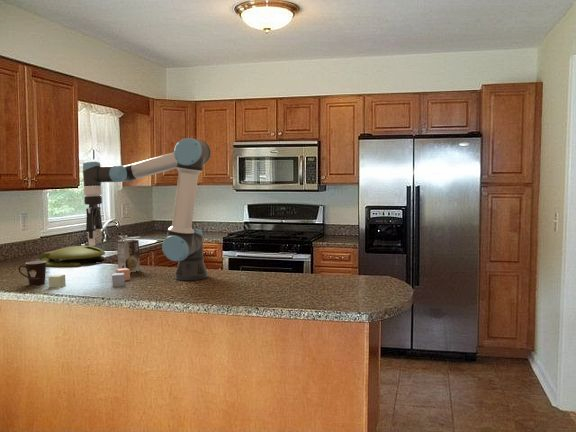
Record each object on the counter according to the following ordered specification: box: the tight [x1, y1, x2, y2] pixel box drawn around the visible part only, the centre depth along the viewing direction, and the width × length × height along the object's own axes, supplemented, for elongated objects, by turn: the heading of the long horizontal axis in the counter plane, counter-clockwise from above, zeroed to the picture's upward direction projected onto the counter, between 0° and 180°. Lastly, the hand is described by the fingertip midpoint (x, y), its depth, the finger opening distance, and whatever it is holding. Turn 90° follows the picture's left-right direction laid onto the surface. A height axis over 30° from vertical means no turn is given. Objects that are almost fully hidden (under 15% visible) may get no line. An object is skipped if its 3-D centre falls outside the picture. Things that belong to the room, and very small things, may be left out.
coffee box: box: [116, 239, 141, 274], centre depth 273 cm, size 9×6×16 cm
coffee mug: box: [17, 260, 47, 286], centre depth 246 cm, size 12×9×10 cm
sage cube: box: [48, 274, 67, 288], centre depth 239 cm, size 5×5×5 cm
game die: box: [84, 227, 105, 246], centre depth 246 cm, size 9×8×10 cm
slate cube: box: [111, 272, 125, 287], centre depth 240 cm, size 5×5×5 cm
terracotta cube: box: [115, 268, 131, 281], centre depth 253 cm, size 5×5×5 cm
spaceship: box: [36, 245, 106, 268], centre depth 309 cm, size 35×31×10 cm
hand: (95, 244), depth 247 cm, fingers closed on game die, 9 cm apart
